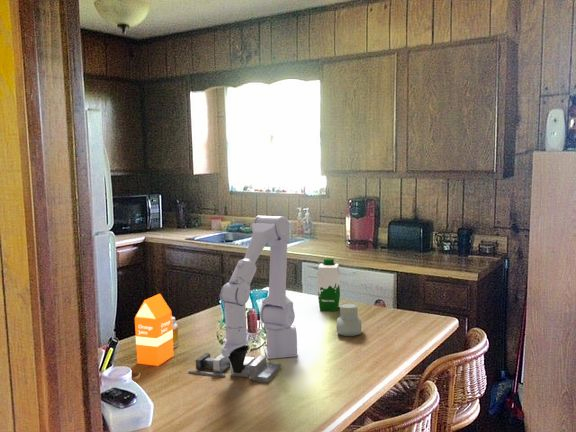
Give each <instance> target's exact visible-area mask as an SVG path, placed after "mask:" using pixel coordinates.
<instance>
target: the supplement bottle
mask: <svg viewBox="0 0 576 432" xmlns="http://www.w3.org/2000/svg"><path fill="white" fill-rule="evenodd" d="M172 330H173V349H174V348H175V349H176V348H178V347H179V341H180V340H179V326H178V323H176V317H175V316H172Z"/></svg>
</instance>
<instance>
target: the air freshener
mask: <svg viewBox="0 0 576 432" xmlns="http://www.w3.org/2000/svg"><path fill="white" fill-rule="evenodd" d="M339 312H340V316H339V317H338V318H337V319H336V333H337V334H339V335H341V336H343V337H356V336H358V335H361V333H362V318H361V317H359V316H358V313H359V312H358V306H357V304H353V303H345V304H342V305H340V311H339Z"/></svg>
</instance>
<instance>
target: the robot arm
mask: <svg viewBox="0 0 576 432" xmlns="http://www.w3.org/2000/svg"><path fill="white" fill-rule="evenodd" d="M290 227H291V224H290V222H289V220H288V219H287V217H286V216H285V215H284V216H283V215H281V216H278V215H277V216H276V215H275V216H274V215H273V216H272V215H262V214H261V215H260V214H258V215H257V216H255V218H254V220H253V222H252V225H251V232H252V235H251V238H250V241H249V244H248V246H247V250H246V252H245V255H244V258H243V259H239V260H238V262H237V263H236V266H235V268H234V269H233V272H232V273H231V274H232V275H231V276H230V278H229V281H228V282H226V283H225V284H224V285H222V287H221V289H220V294H219V299H220V302H222V308H223V310H224V316H225V320H224V321H225V338H224V339H222V343H224V345H223V347H222V348H221V354H222V356H227V357H228V358H229V360H230V362H231V365H232V368H233V372H234V373H241V372H242V369H243V364H244V359H245V356H246V357H247V354H248V352H249V351H248V350H249V345H248V343H249V341H250V340H251V332H247V314H246V311H247V310H246V303H248V301H249V298H250V295H251V294H250V293H251V283H252V281H253V279H254V277H255V275H256V271H257V265H256V264H257V263H256V262H257V261H258V259H259V257H260V255H261V253H262V252H263V250H264V248H265V246H266V244H267V243H268V245H269V246H270V249H269V252H270V253H269V254H270V255H269V278H268V281H269V282H268V296H266V297H265V298H264V299H263V300H262V302H261V307H260V308H261V309H260V310H259V311H260V312H259V317H260V321H261V323H263V327H265V328H266V329H265V331H266V333H265V335H266V348H264V349H263V350H264V353H265V356H266V359H267V360H268V359H269V360H271V359H281V358H293V357H298V356H299V355H298V338H297V337H298V335H297V328H296V325H294V324H293V323H294V321H295V318H296V317H295V314H296V313H295V311H294V301H292V300H291V299H290V298H288V296H287V295H286V292H287V291H286V290H287V268H288V267H287V263H288V262H287V261H288V259H287V258H288V243H289V242H290V229H291V228H290Z"/></svg>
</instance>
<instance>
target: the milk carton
mask: <svg viewBox="0 0 576 432" xmlns="http://www.w3.org/2000/svg"><path fill="white" fill-rule="evenodd" d="M334 260H335V259H334V258H330V257H329V258H323V263H319V264H318V269H317V273H316V274H317V297H318V304H319V311H320V312H338V310H339V305H340V299H341V286H340V285H341V284H340V283H341V279H340V276H341V275H340V265H339V263H335V262H334Z"/></svg>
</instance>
